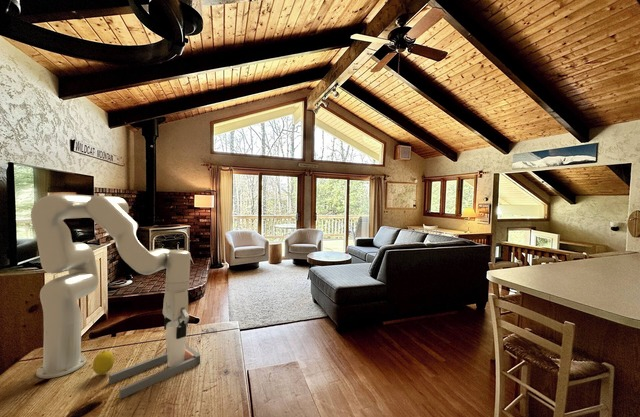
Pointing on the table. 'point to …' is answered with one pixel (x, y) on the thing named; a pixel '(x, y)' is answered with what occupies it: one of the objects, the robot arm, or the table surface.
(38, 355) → the table surface
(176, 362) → the drinking glass
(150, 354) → the table surface
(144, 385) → the guide channel
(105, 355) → the lemon
